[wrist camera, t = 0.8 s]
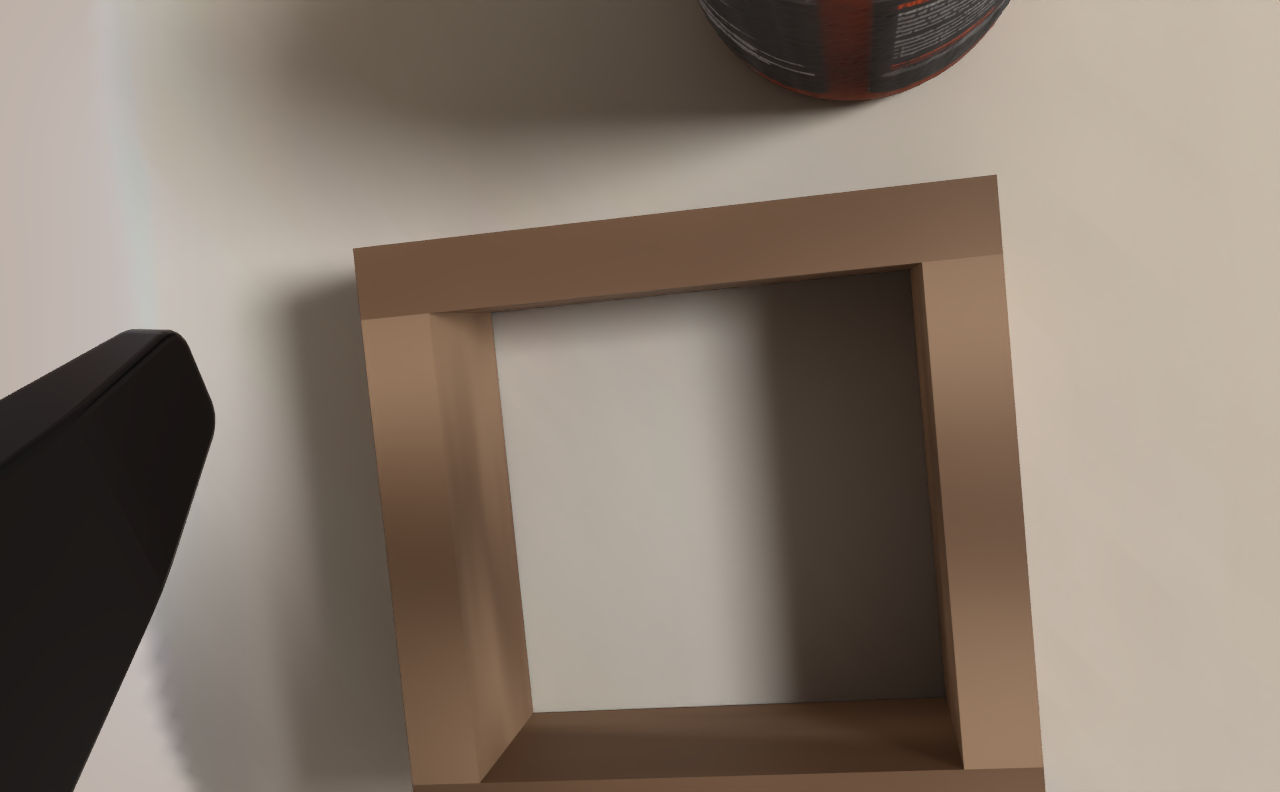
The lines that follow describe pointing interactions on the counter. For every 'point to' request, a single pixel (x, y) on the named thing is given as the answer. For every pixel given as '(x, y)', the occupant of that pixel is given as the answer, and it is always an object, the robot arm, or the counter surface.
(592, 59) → the counter surface
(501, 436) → the socket collar
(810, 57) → the supplement bottle
